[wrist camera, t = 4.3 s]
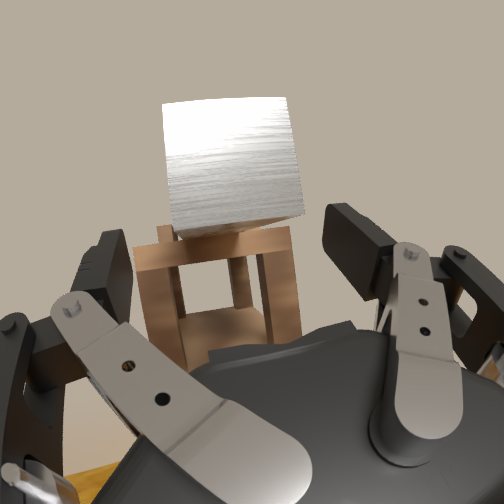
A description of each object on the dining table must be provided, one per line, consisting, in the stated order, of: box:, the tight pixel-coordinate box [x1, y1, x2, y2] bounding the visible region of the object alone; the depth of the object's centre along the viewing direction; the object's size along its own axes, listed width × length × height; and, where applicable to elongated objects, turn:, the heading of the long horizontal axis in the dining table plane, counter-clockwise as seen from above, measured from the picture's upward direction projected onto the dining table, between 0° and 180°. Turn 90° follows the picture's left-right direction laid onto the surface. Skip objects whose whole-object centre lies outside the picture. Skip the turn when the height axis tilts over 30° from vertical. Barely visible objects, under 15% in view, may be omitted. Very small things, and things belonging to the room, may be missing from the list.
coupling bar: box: [163, 98, 305, 240], centre depth 20 cm, size 4×26×4 cm, turn 12°
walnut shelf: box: [133, 225, 302, 373], centre depth 28 cm, size 10×18×35 cm, turn 13°
